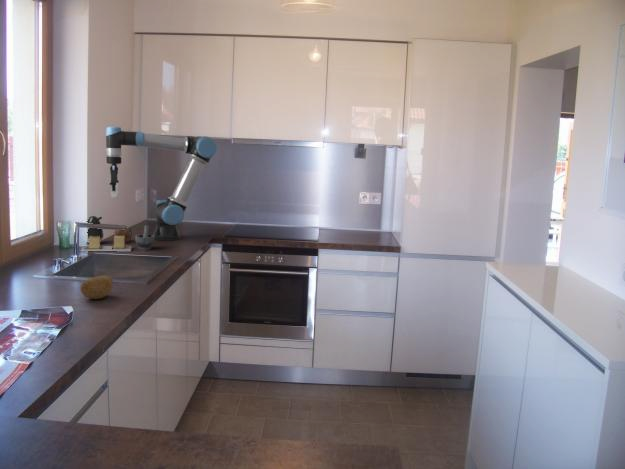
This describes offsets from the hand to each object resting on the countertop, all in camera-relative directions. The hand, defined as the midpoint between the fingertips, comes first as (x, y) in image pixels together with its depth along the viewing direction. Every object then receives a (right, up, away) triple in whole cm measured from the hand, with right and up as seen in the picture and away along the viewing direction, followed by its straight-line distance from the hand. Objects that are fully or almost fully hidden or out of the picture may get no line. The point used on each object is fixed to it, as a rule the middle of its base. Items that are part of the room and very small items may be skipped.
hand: (114, 195), depth 300 cm
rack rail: (0, -29, -12) cm, 31 cm away
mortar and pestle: (+18, -29, -3) cm, 34 cm away
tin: (+1, -26, +11) cm, 28 cm away
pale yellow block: (-6, -29, -13) cm, 32 cm away
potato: (+29, -44, -98) cm, 111 cm away
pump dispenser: (-13, -26, +4) cm, 29 cm away
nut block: (+6, -29, -10) cm, 31 cm away
